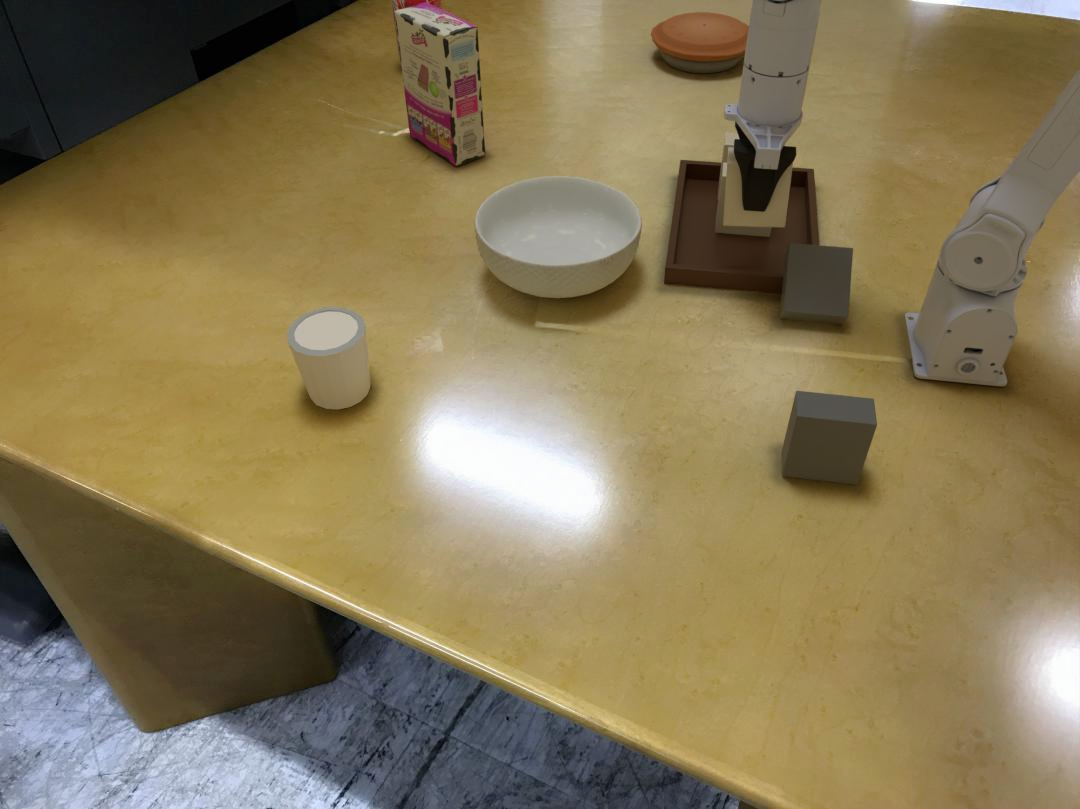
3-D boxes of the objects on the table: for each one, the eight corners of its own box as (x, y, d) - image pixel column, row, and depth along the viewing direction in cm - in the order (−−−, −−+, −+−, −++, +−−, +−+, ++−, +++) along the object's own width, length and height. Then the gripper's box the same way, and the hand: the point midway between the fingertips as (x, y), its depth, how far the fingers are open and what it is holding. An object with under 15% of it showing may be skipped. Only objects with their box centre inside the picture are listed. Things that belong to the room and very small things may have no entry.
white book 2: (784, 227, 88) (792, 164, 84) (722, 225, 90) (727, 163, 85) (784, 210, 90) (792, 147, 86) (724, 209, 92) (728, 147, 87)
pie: (629, 51, 137) (631, 18, 134) (712, 31, 142) (716, -2, 139) (687, 89, 127) (691, 54, 124) (774, 65, 132) (780, 31, 129)
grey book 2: (857, 485, 73) (877, 424, 68) (782, 476, 74) (796, 416, 69) (854, 458, 75) (874, 398, 70) (781, 450, 76) (796, 390, 71)
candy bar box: (488, 155, 115) (480, 25, 103) (456, 168, 112) (444, 36, 101) (439, 125, 121) (426, -1, 110) (408, 136, 119) (391, 9, 108)
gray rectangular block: (848, 317, 85) (853, 247, 86) (783, 311, 86) (789, 242, 87) (841, 326, 88) (846, 258, 89) (779, 320, 89) (785, 254, 90)
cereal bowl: (499, 336, 88) (495, 277, 83) (464, 245, 100) (459, 188, 95) (661, 305, 91) (666, 246, 86) (609, 220, 103) (611, 164, 98)
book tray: (817, 301, 91) (822, 280, 89) (663, 287, 93) (665, 267, 92) (809, 188, 107) (814, 168, 105) (678, 178, 109) (680, 159, 108)
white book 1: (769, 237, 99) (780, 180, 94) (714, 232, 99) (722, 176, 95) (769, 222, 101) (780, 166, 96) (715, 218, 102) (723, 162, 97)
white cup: (343, 354, 87) (330, 296, 82) (392, 384, 83) (381, 325, 78) (287, 393, 83) (269, 333, 78) (336, 425, 80) (321, 365, 75)
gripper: (732, 30, 85) (716, 160, 94) (728, 97, 75) (710, 236, 84) (809, 33, 84) (784, 165, 93) (815, 102, 74) (787, 242, 83)
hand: (754, 199), depth 89 cm, fingers closed on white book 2, 3 cm apart
